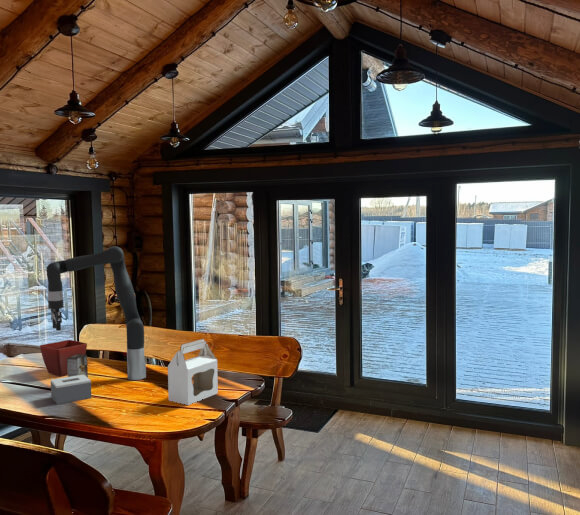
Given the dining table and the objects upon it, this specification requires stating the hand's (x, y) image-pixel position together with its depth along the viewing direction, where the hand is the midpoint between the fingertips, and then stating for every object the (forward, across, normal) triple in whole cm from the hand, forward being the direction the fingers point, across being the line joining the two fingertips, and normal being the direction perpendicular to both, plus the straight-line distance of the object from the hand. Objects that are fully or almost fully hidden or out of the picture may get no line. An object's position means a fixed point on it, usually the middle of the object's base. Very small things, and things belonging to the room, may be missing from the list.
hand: (56, 329), depth 287 cm
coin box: (+30, -28, 0) cm, 41 cm away
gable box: (+30, -63, -50) cm, 86 cm away
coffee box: (+30, -9, -8) cm, 33 cm away
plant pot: (+30, +22, -8) cm, 38 cm away
